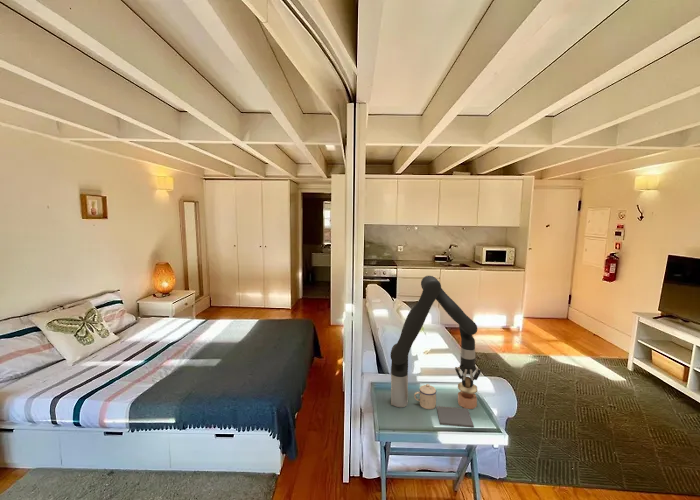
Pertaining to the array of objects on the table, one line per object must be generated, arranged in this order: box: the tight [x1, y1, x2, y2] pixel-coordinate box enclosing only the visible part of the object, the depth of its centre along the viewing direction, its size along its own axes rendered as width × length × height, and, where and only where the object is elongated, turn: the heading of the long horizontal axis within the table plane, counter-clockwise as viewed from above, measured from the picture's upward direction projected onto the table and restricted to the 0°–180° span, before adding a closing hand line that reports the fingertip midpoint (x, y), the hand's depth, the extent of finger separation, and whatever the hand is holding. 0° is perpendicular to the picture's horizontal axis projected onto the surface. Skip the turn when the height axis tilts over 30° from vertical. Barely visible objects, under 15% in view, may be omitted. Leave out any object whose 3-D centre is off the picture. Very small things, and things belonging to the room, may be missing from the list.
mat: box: [436, 405, 475, 428], centre depth 158 cm, size 16×14×1 cm
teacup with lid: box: [413, 383, 437, 410], centre depth 169 cm, size 12×9×12 cm
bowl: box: [457, 390, 478, 410], centre depth 169 cm, size 9×9×5 cm
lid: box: [457, 376, 478, 394], centre depth 168 cm, size 10×10×6 cm
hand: (467, 385), depth 169 cm, fingers closed on lid, 3 cm apart
